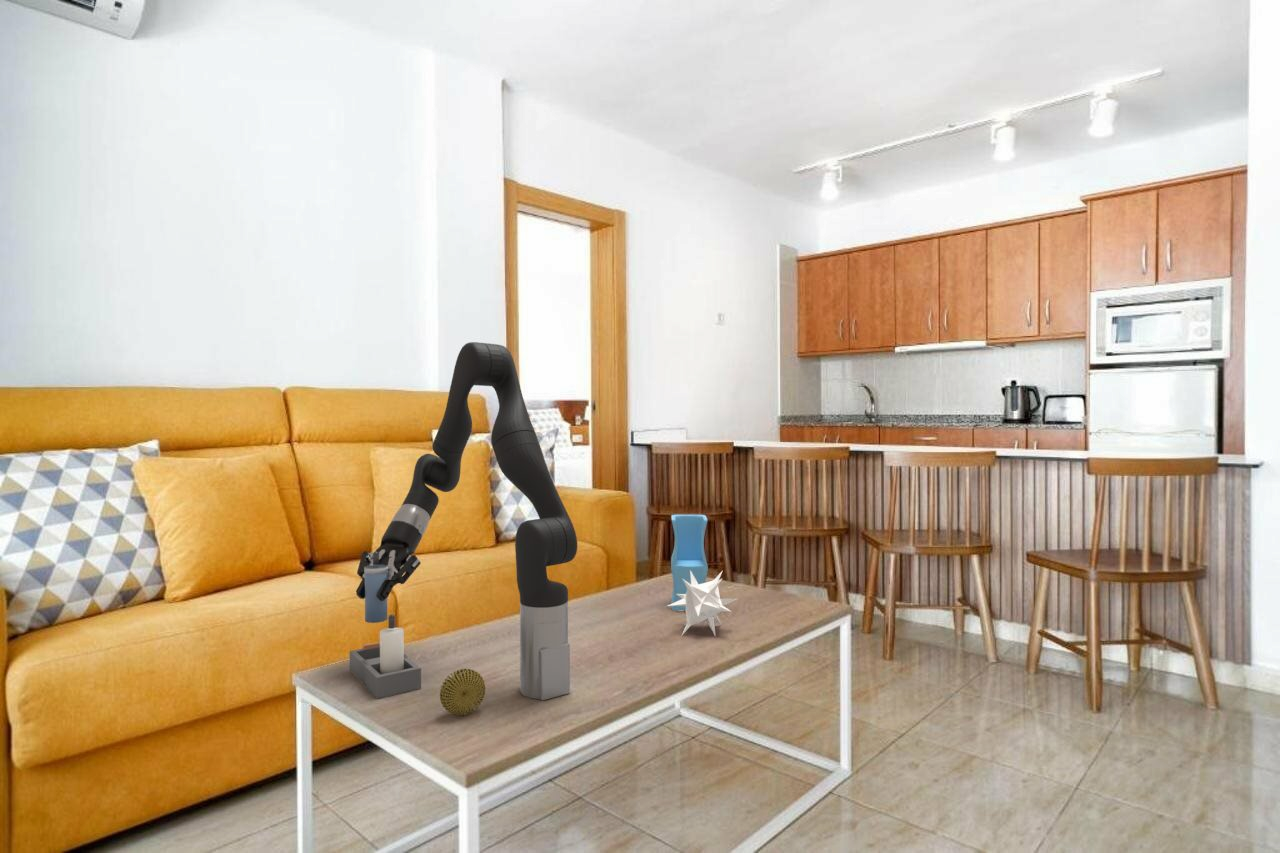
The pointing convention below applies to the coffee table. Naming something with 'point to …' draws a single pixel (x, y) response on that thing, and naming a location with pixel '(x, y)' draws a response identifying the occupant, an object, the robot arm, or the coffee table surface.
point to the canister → (375, 591)
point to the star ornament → (702, 602)
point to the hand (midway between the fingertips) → (370, 597)
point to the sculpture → (462, 692)
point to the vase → (688, 553)
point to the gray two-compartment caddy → (386, 664)
